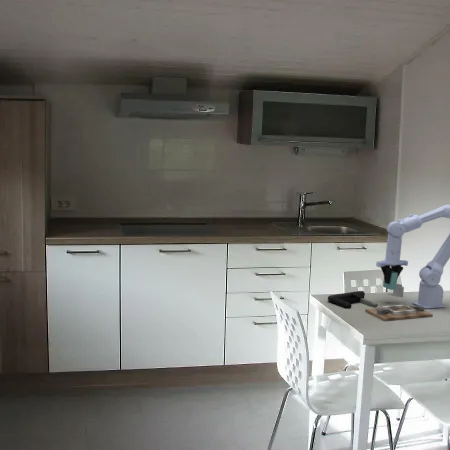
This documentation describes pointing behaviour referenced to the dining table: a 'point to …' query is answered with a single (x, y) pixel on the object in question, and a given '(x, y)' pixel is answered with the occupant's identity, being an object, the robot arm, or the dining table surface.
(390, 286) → the block
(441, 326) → the dining table surface
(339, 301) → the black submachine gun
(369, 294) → the dining table surface
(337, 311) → the dining table surface
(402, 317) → the board
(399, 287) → the lighter
